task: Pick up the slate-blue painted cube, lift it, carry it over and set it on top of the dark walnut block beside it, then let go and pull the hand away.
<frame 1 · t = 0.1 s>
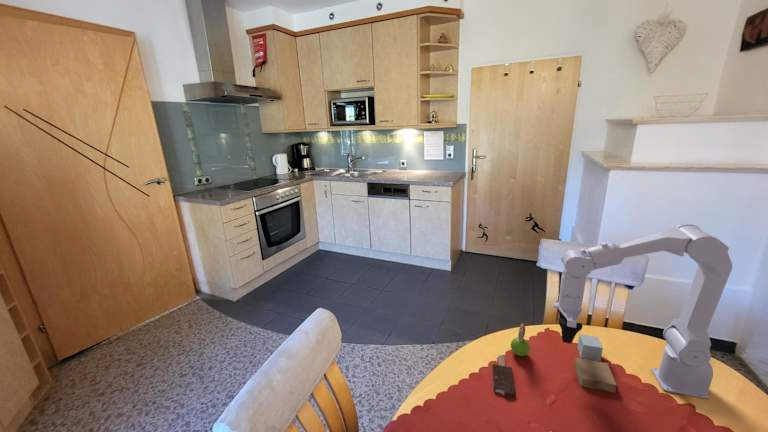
hand: (565, 333, 93), 10 cm above the table, tool pointing down, fingers open, 7 cm apart
ice cream bar: (502, 377, 92), on the table
slate-blue cube: (588, 354, 98), on the table
green candy apple: (519, 355, 99), on the table
walnut block: (593, 379, 89), on the table
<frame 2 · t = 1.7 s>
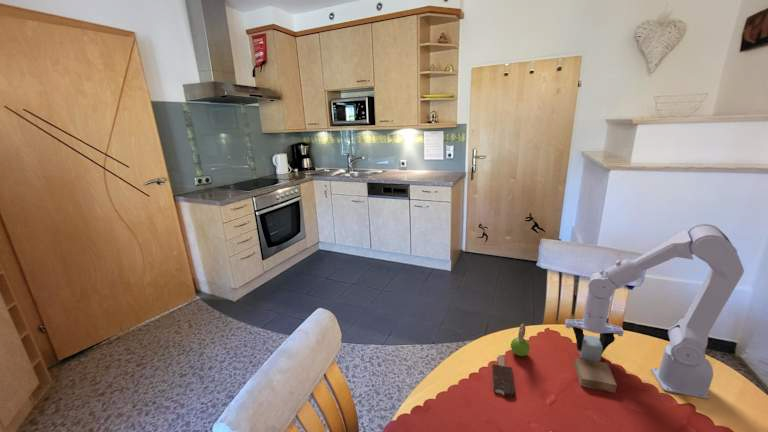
hand: (589, 350, 98), 1 cm above the table, tool pointing down, fingers closed on slate-blue cube, 5 cm apart
slate-blue cube: (588, 354, 98), on the table, touching gripper
everything else where it was.
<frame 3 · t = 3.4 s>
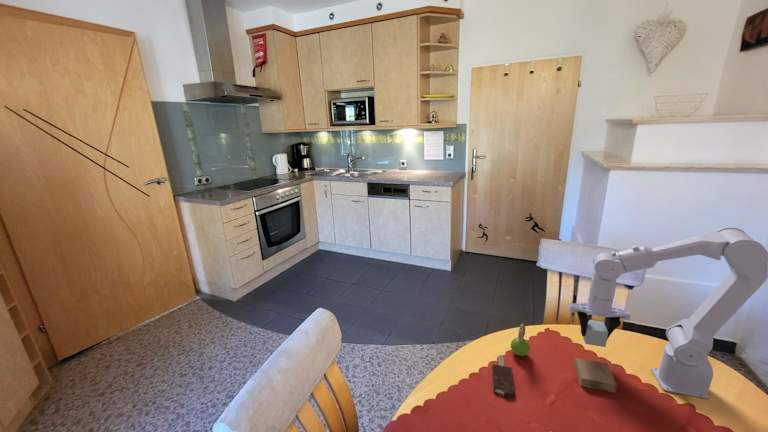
hand: (593, 335, 93), 8 cm above the table, tool pointing down, fingers closed on slate-blue cube, 5 cm apart
slate-blue cube: (593, 339, 94), point 7 cm above the table, touching gripper
everything else where it was.
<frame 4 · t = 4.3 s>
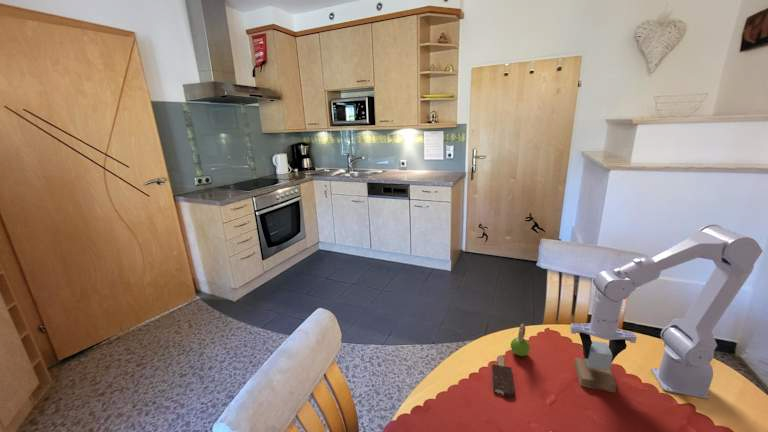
hand: (597, 358, 87), 7 cm above the table, tool pointing down, fingers closed on slate-blue cube, 5 cm apart
slate-blue cube: (596, 362, 88), point 5 cm above the table, touching gripper
everything else where it was.
when the fingers open (5 cm above the table, at t = 5.0 s): slate-blue cube drops 1 cm, point 3 cm above the table.
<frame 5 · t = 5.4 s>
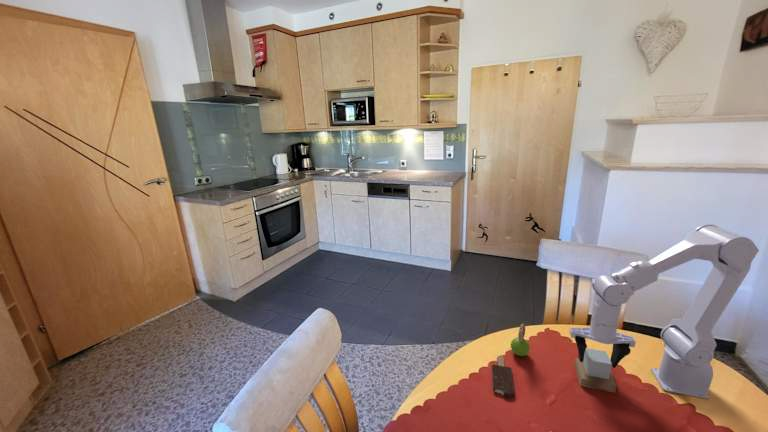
hand: (596, 362, 88), 5 cm above the table, tool pointing down, fingers open, 7 cm apart
slate-blue cube: (595, 370, 89), point 3 cm above the table
everything else where it was.
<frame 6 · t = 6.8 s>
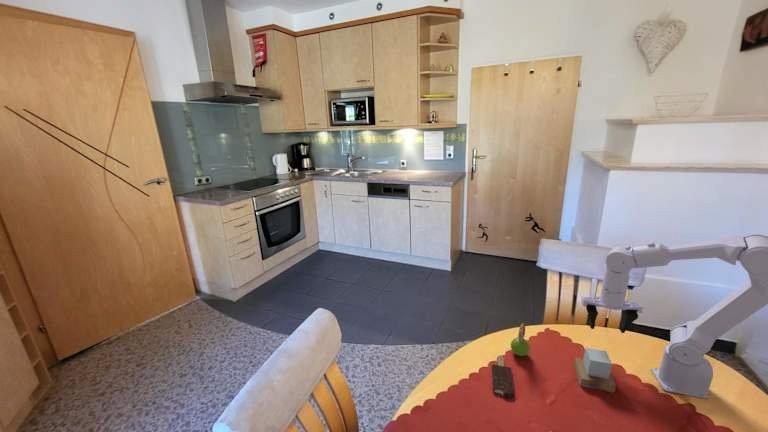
hand: (606, 328, 95), 9 cm above the table, tool pointing down, fingers open, 7 cm apart
nothing on the table moved.
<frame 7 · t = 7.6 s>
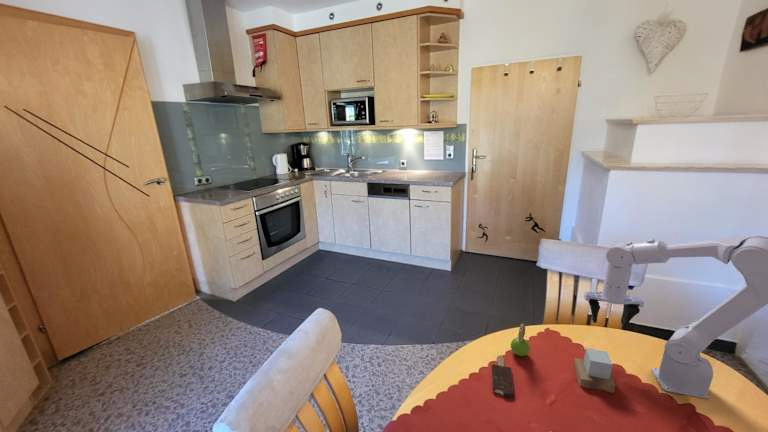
hand: (608, 322, 97), 9 cm above the table, tool pointing down, fingers open, 7 cm apart
slate-blue cube: (595, 370, 89), point 2 cm above the table, touching walnut block
walnut block: (592, 379, 89), on the table, touching slate-blue cube
everything else where it was.
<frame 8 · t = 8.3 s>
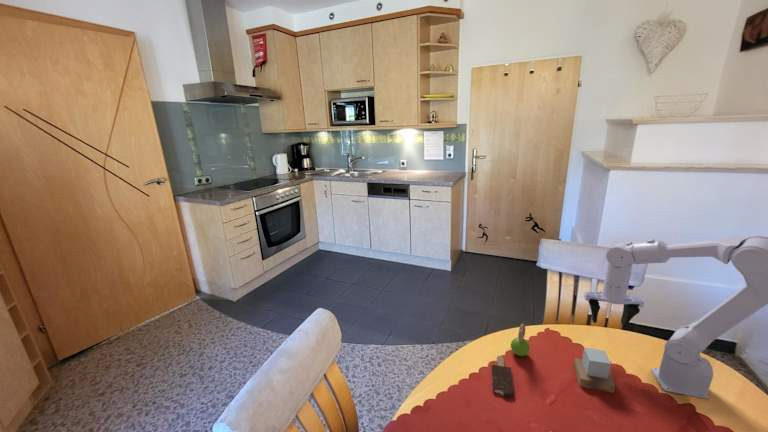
hand: (608, 322, 97), 9 cm above the table, tool pointing down, fingers open, 7 cm apart
slate-blue cube: (594, 370, 89), point 3 cm above the table
walnut block: (592, 379, 89), on the table
everything else where it was.
at the end: slate-blue cube 0.2 cm off-centre on the walnut block, point 3.0 cm above the walnut block's base; slate-blue cube tilted 0°; the gripper is holding nothing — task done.
